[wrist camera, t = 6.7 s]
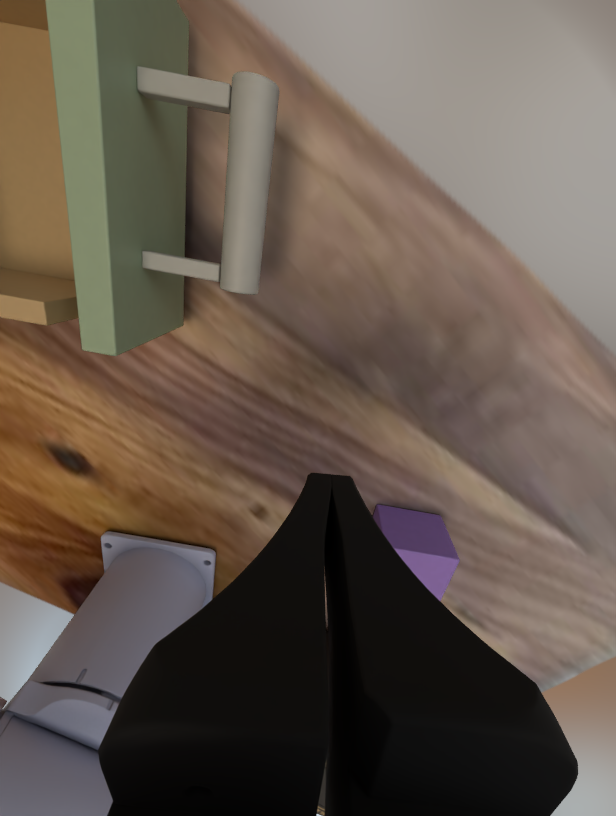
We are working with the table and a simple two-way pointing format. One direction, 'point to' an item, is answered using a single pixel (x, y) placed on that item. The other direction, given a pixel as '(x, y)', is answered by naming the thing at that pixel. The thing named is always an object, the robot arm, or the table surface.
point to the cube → (420, 545)
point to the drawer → (116, 168)
